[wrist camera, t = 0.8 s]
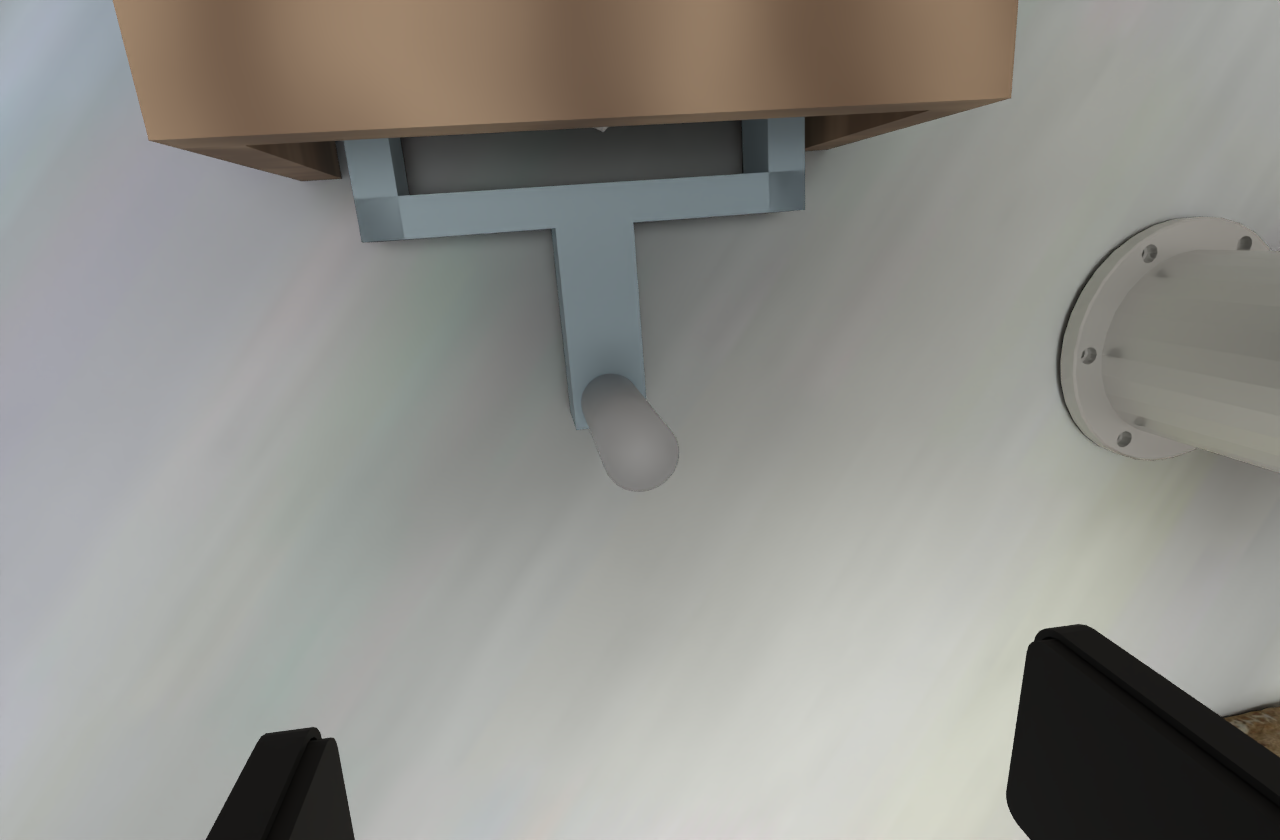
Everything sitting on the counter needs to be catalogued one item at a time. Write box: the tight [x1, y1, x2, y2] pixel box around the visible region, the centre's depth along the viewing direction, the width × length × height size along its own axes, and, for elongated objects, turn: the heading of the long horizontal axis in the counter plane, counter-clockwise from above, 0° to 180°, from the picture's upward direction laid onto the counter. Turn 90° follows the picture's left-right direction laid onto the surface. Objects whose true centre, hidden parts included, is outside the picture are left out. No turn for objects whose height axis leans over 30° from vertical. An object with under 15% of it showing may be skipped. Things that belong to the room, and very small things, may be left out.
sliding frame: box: [343, 117, 805, 492], centre depth 22 cm, size 24×17×10 cm
